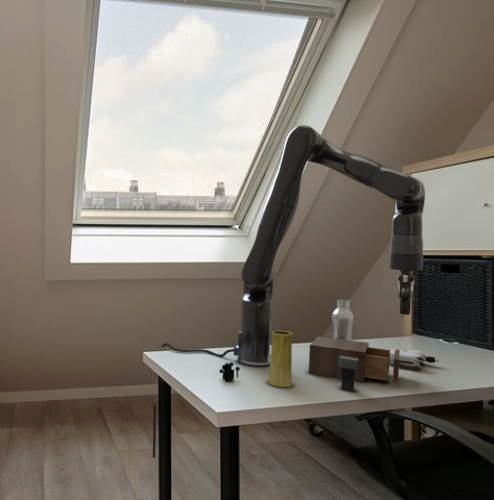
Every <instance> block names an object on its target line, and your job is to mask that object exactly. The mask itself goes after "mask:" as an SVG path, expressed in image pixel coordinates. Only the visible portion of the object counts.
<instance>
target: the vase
mask: <svg viewBox="0 0 494 500" xmlns="http://www.w3.org/2000/svg"><path fill="white" fill-rule="evenodd" d="M292 347H293V333H292V332H291V331H287V330H271V341H270V355H271V359H270V365H269V378H268V384H269V385H271V386H273V387H277V388H290V387H292V386H293V381H292V380H293V379H292V378H293V376H292V372H293V371H292V363H293V361H292V359H293V358H292V357H293V355H292V354H293V353H292V352H293V351H292V349H293V348H292Z"/></svg>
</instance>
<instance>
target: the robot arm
mask: <svg viewBox="0 0 494 500" xmlns="http://www.w3.org/2000/svg"><path fill="white" fill-rule="evenodd" d="M308 162H309V163H313V164H317V165H321V166H323V167H326V168H328V169H331V170H333V171H336V172H338V174H341V175H343V176H344V177H347V178H349V179H351V180H353V181H355V182H357V183H359V184H361V185H362V186H365V187H367V188H370V189H372V190H376V191H377V192H379V193H381V194H383V195H385V196H387V197H388V198H390V199H392V200H394V201H395V209H394V210H395V211H394V215H393V216H392V220H391V239H390V244H389V245H390V247H389V248H390V250H389V251H390V252H389V269H391V270H395V271H400V275H398V276H397V277H396V283H397V292H398V293H399V294H398V299H399V314H400V315H404V316H409V315H410V314H411V303H412V302H411V301H412V296H413V293H414V285H415V283H416V282H415V280H416V279H415V278H416V277H415V276H413V271H422V270H424V269H423V268H424V239H423V238H424V237H423V214H424V207H425V200H426V188H425V185H424V183H423V182H422V181H421V180H420V179H418V178H416V177H413V176H411V175H409V174H406V173H403V172H401V171H398V170H395V169H392V168H390V167H389V166H388V165H385V164H383V163H382V162H379V161H377V160H374V159H372V158H369V157H367V156H364V155H362V154H358V153H356V152H351V151H348V150H345V149H342V148H340V147H338V146H336V145H334V144H333V143H331V142H329V140H326V139H325V138H324V137H323V136H321V134H320V133H319V132H318V131H317V130H316V129H314V128H313V127H311V126H310V125H307V124H301V125H298V126H296V127H294V128H293V129H292V130H291V131H290V132H289V133H288V135H287V138H286V140H285V143H284V147H283V152H282V155H281V159H280V164H279V167H278V170H277V173H276V176H275V178H274V181H273V184H272V186H271V188H270V192H269V194H268V196H267V200H266V202H265V205H264V208H263V210H262V214H261V217H260V220H259V223H258V226H257V231H256V236H255V239H254V242H253V244H252V247H251V249H250V251H249V253H248V256H247V257H246V259H245V261H244V264H243V265H242V267H241V271H240V276H241V277H240V278H241V280H242V282H243V290H242V291H243V292H242V298H241V303H240V306H241V307H240V331H239V332H238V335H237V336H238V337H237V338H238V339H237V341H238V342H237V345H235V346H234V347H233V348H230V349H227V350H225V351H224V352H223V353H221V354H220V353H219V354H218V353H216V352H214V351H211V350H209V349H204V348H203V349H202V348H197V349H196V348H192V349H182V348H181V349H180V348H177V347H174V346H172V345H171V344H170V343H168V342H165V343H163V344H162V345H161V346H160V347H161V348H164V347H166V346H167V347H169V348H170V349H171V350H172V351H174V352H178V353H207V354H210V355H211V356H214V357H218V358H224V357H225V356H226V355H227V354H229V353H233V356H236V357H237V363H241V364H242V365H246V366H249V367H250V366H251V367H267V366H270V363H271V339H272V307H273V297H274V296H273V295H274V277H275V276H274V275H275V273H274V268H273V267H274V263H275V258H276V256H277V254H278V250H279V248H280V246H281V244H282V242H283V241H284V239H285V237H286V235H287V233H288V232H289V230H290V228H291V226H292V224H293V221H294V218H295V216H296V213H297V210H298V207H299V204H300V200H301V199H300V197H301V188H302V187H301V186H302V179H303V173H304V170H305V168H306V165H307V163H308ZM152 411H153V417H152V418H153V421H152V422H153V423H152V424H153V425H152V429H153V431H152V458H156V443H157V442H156V441H157V439H156V437H157V432H156V431H157V405H153V410H152Z"/></svg>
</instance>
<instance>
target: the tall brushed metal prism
mask: <svg viewBox="0 0 494 500" xmlns="http://www.w3.org/2000/svg"><path fill="white" fill-rule="evenodd" d="M358 360H359V358H353V357H345V356H340V358H339V367H342V379H340V380H341V381H340V383H341V384H340V390H341V391H346V392H347V391H348V392H351V393H353V392H355V387H356V385H355V384H356V381H355V369H358Z"/></svg>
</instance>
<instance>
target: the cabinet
mask: <svg viewBox="0 0 494 500" xmlns="http://www.w3.org/2000/svg"><path fill="white" fill-rule="evenodd" d="M368 347H370V343H369V342H366V341H357V340H351V341H350V340H342V339H334V338H333V337H324V336H317V337H316V338H315V339H314V340H313V341H312V342H311V343H310V344H309V356H308V357H309V358H308V374H310V375H315V376H321V377H326V378H328V377H329V378H332V379H333V378H334V379H339V380H341V379H342V367H339V358H340V356H345V357H353V358H359V360H358V369H355V382H359V383H365V381H366V377H364V370H365V353H366V351H367V348H368Z"/></svg>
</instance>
